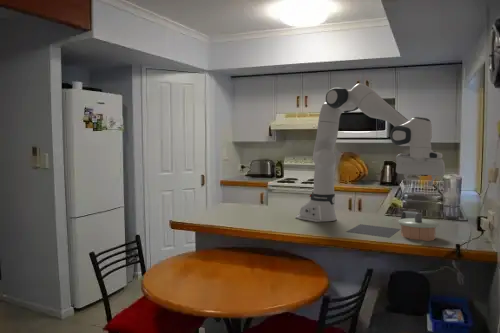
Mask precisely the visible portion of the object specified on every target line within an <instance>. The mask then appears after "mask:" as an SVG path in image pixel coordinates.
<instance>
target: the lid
mask: <svg viewBox="0 0 500 333" xmlns="http://www.w3.org/2000/svg"><path fill="white" fill-rule="evenodd" d="M397 223H398V224H399V225H400V226H401V225H404V226H409V227H416V228H434V227H436V228H438V227H439V226H440V222H438V221H436V220H432V219H425V218H423V212H418V213H415V218H406V219H401V218H400V219H398V221H397Z"/></svg>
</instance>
